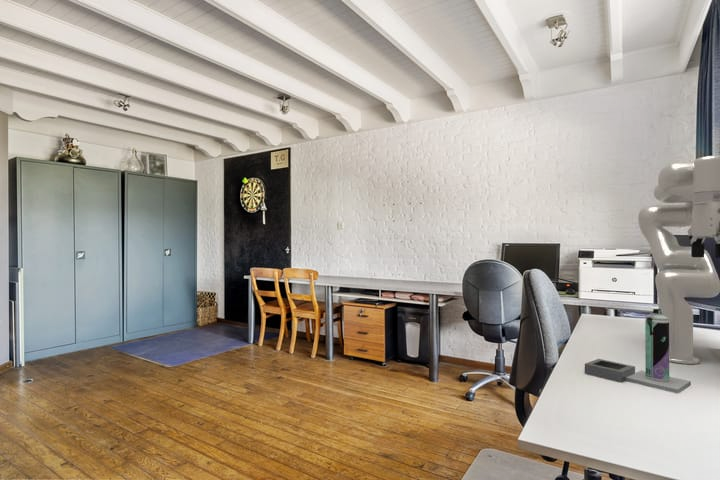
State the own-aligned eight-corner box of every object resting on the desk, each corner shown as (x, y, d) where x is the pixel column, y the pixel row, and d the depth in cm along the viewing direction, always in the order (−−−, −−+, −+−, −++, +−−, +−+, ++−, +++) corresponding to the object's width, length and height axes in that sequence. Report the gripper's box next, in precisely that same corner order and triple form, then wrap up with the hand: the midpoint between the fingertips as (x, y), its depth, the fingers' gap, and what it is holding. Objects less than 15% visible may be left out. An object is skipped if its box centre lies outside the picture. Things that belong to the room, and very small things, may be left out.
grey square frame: (598, 368, 126) (598, 358, 126) (634, 376, 118) (635, 366, 118) (584, 373, 120) (584, 363, 120) (621, 382, 112) (621, 372, 112)
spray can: (664, 383, 109) (664, 310, 110) (642, 377, 114) (642, 308, 114) (672, 379, 112) (672, 309, 113) (650, 374, 117) (649, 306, 118)
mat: (641, 373, 121) (641, 370, 121) (690, 384, 112) (690, 381, 112) (625, 380, 114) (625, 377, 114) (677, 393, 105) (677, 389, 105)
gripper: (748, 195, 106) (748, 258, 106) (703, 202, 123) (702, 257, 123) (717, 195, 108) (716, 258, 107) (676, 202, 125) (676, 256, 124)
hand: (709, 257), depth 115 cm, fingers open, 9 cm apart
